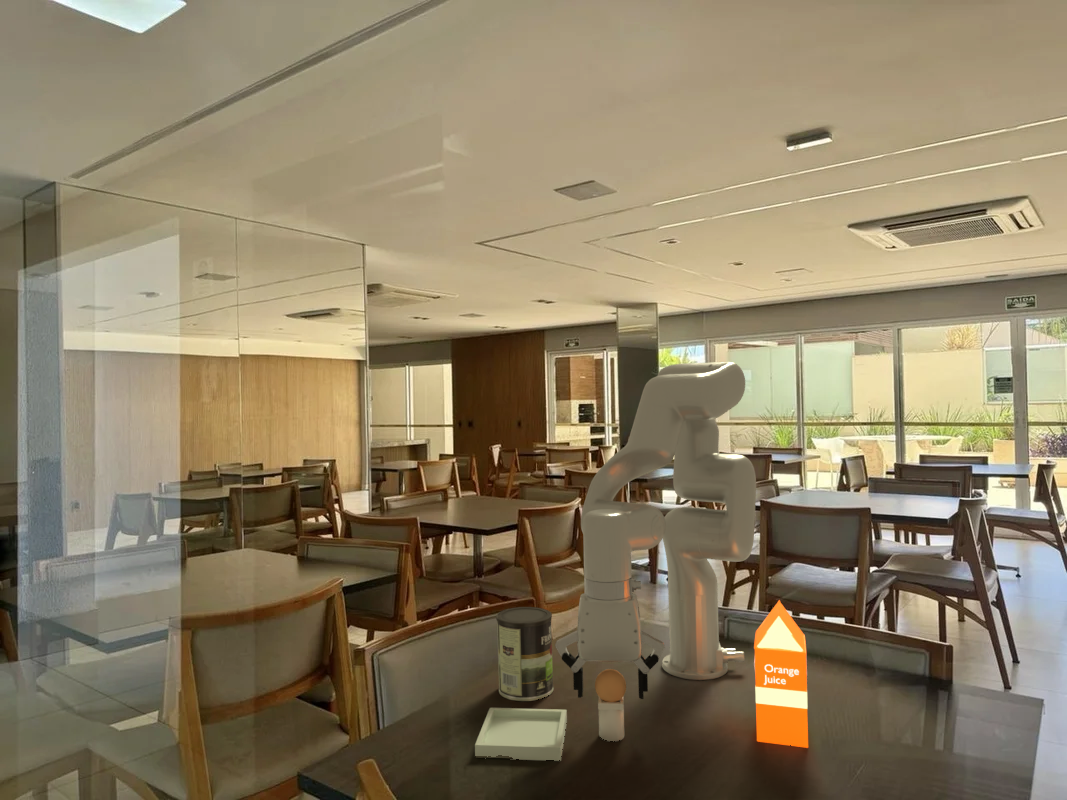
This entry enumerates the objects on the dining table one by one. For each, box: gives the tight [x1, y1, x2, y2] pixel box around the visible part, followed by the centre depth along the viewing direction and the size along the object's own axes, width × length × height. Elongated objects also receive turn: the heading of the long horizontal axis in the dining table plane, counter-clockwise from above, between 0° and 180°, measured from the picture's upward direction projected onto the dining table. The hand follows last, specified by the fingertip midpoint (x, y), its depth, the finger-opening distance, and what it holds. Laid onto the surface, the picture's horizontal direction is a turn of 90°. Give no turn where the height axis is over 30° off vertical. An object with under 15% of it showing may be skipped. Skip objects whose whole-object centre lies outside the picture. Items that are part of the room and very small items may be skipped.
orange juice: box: [753, 599, 809, 749], centre depth 116 cm, size 8×9×20 cm
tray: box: [474, 707, 568, 762], centre depth 115 cm, size 13×13×2 cm
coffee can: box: [495, 606, 554, 702], centre depth 135 cm, size 10×10×14 cm
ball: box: [594, 668, 627, 702], centre depth 116 cm, size 5×5×5 cm
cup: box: [597, 695, 625, 743], centre depth 116 cm, size 4×4×6 cm
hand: (610, 694), depth 116 cm, fingers open, 9 cm apart
